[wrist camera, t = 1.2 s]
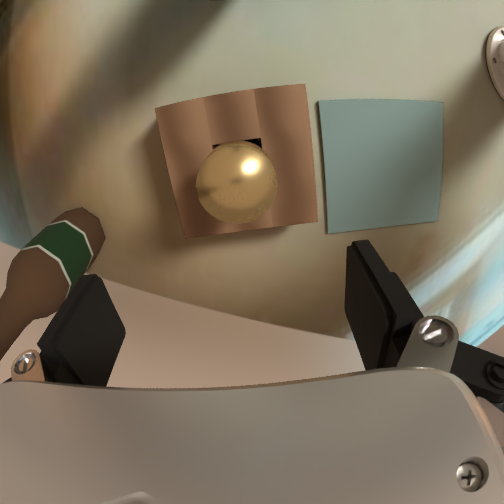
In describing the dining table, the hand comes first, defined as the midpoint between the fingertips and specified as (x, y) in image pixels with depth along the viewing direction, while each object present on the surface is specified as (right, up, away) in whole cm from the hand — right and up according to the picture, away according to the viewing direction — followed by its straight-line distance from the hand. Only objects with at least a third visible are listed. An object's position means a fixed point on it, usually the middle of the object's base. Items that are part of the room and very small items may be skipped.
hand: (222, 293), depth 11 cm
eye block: (0, +12, +22) cm, 25 cm away
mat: (+17, +12, +22) cm, 30 cm away
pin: (0, +12, +22) cm, 25 cm away
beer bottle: (-22, +4, +27) cm, 35 cm away
